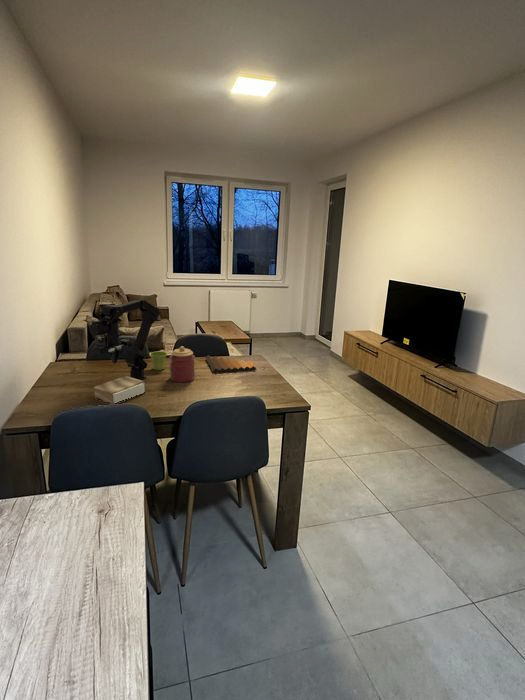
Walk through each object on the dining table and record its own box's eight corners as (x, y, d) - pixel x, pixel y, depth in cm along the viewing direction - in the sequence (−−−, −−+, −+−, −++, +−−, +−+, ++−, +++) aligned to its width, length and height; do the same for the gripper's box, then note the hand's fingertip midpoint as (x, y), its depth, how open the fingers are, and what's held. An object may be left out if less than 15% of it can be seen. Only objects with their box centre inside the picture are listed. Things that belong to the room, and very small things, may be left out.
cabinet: (126, 386, 197) (125, 375, 195) (143, 392, 191) (143, 381, 189) (95, 398, 182) (94, 386, 180) (112, 404, 176) (111, 392, 174)
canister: (164, 379, 208) (163, 347, 203) (180, 372, 219) (180, 341, 214) (184, 384, 202) (184, 351, 197) (200, 377, 213) (199, 345, 208)
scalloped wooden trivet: (205, 360, 243) (212, 374, 220) (205, 355, 242) (212, 368, 219) (244, 358, 250) (256, 371, 228) (245, 353, 249) (256, 365, 227)
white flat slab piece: (144, 392, 191) (143, 381, 189) (145, 392, 190) (145, 382, 189) (113, 404, 176) (112, 393, 175) (115, 404, 176) (114, 393, 174)
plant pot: (149, 366, 226) (148, 352, 224) (165, 365, 230) (165, 350, 228) (151, 372, 218) (151, 356, 216) (169, 370, 222) (168, 355, 220)
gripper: (116, 326, 200) (118, 355, 204) (84, 333, 184) (86, 365, 189) (132, 329, 195) (134, 360, 199) (100, 337, 179) (102, 369, 183)
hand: (114, 363), depth 193 cm, fingers closed
